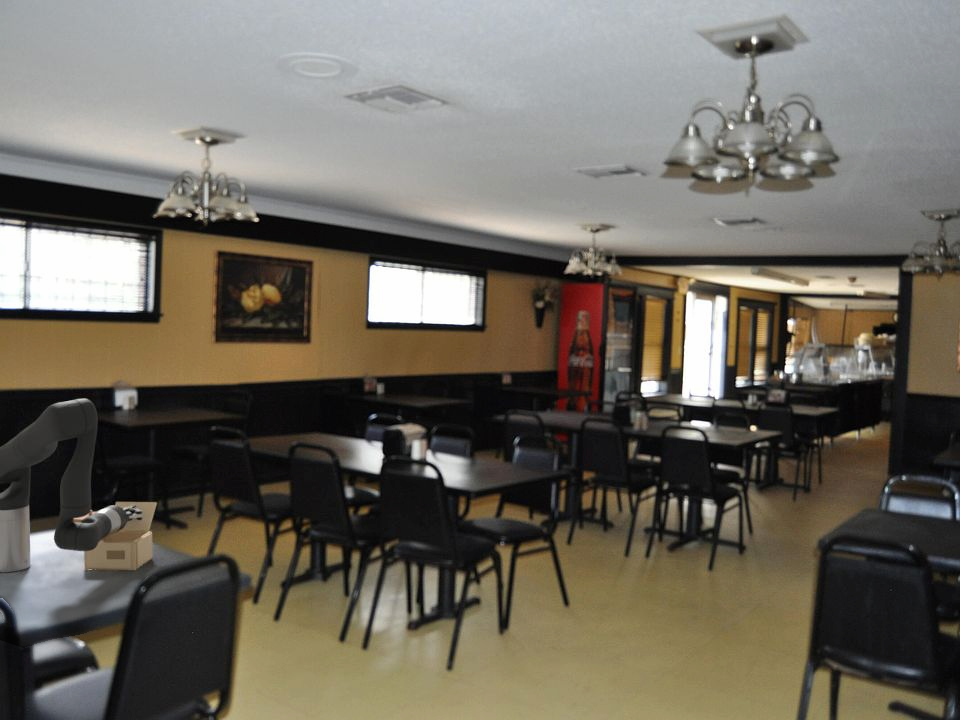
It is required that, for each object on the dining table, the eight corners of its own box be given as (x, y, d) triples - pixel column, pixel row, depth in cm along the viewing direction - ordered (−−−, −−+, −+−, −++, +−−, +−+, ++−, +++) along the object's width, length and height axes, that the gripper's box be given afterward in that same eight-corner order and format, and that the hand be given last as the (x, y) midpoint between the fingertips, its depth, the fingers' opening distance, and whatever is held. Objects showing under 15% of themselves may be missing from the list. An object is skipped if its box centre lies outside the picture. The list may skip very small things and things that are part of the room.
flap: (107, 529, 249) (116, 501, 255) (108, 529, 250) (116, 502, 256) (148, 529, 249) (156, 502, 255) (149, 530, 250) (156, 503, 255)
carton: (81, 570, 237) (81, 542, 237) (102, 557, 250) (102, 530, 249) (135, 571, 237) (135, 542, 237) (153, 558, 250) (153, 531, 249)
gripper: (130, 508, 236) (155, 496, 253) (82, 508, 236) (111, 495, 253) (130, 535, 236) (156, 521, 253) (83, 535, 236) (111, 521, 254)
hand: (133, 508), depth 253 cm, fingers closed
